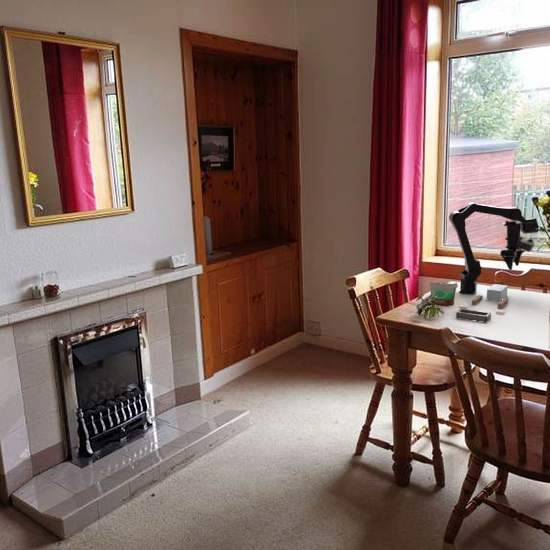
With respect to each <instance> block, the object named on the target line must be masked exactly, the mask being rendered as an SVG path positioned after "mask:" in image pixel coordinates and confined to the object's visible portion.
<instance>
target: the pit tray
mask: <svg viewBox="0 0 550 550" xmlns="http://www.w3.org/2000/svg"><path fill="white" fill-rule="evenodd" d="M455 314H456V315H455V318H456V319H459V318H460V320H466V319H468V320H467V321H472V320H476V321H475V322H479V321H483V322H482V323H486V322H487V321H488V322H489V321H491V319H492V312H488V311H481V310H472V309H469V308H468V309H458V310H457V311H456V313H455ZM488 322H487V323H488Z"/></svg>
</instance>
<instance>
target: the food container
mask: <svg viewBox="0 0 550 550" xmlns="http://www.w3.org/2000/svg"><path fill="white" fill-rule="evenodd" d="M428 286H429V288H430V295H431V294H432V295H433V294H434V293H435V296H434V298H435V297H436V296H437V297H438V306H437V300H435V305H434V306H435V307H451V306H454V303H455V297H456V291H457V288H458V287H459V286H458V282H455V283H448V282H433V281H431V280H430V281H429V283H428ZM434 298H433V299H434ZM431 303H432V302H431Z"/></svg>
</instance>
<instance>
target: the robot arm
mask: <svg viewBox="0 0 550 550" xmlns="http://www.w3.org/2000/svg"><path fill="white" fill-rule="evenodd" d="M474 213H480V214H487V215H493V216H498V217H502V218H503V219H504V218H505V220H504V222H502V223H501V226H504V227H506V237H505V240H506V246H505V248H503V249H501V250H500V254H499V255H500V257H501V258H502V259H503V261H504V262H505V264H506V266H507V268H508V270H509V271H512V270H513V265H515V266H517V267H518V266H519V264H520V260H521V257H522V254H523V253H525V252H531V251H533V248H534V247H535V242H534V239H533V238H529V239H527V240H526V239H523V236H522V235H521V233H523V234H525V235H526V234H537V233H539V230H536V229H535V228H540V226H539V223H538V219H537V218H535V217H532V218H525V217H524V215H522V214H523V213H522V210H521V209H519V208H517V207H514V206H501V207H498V206H492V205H487V204H481V203H480V204H479V203H475V202H469V203H468V204H467V205H465V206H463V207H460V208H459V209H458V210H455V211H452V212H450V214H449V216H448V220H449V222H450V224H451V226H452V227H453V229H454V231H455V232H456V235H457V239H458V241H459V244H460V247H461V251H462V254H463V257H464V267H465V268H464V269H463V270H462V272H460V274H459V275H460V277H461V278H460V288H459V289H460V290H459V291H458V292H459V293H461V294H467V295H474V294H475V293H477V289H478V288H477V287H478V283H477V279H478V278H479V277H480V276H481V274H482V270H483V268H482V265H481V262H480V260H479V259H477V258H475V257H474V252H473V250H472V247H471V244H470V239H469V237H468V235H467V231H466V220H467V219H468V218H469V217H470V216H472V215H473V214H474ZM506 219H507V220H506ZM508 220H511V221H508ZM516 221H517V222H516Z"/></svg>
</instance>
